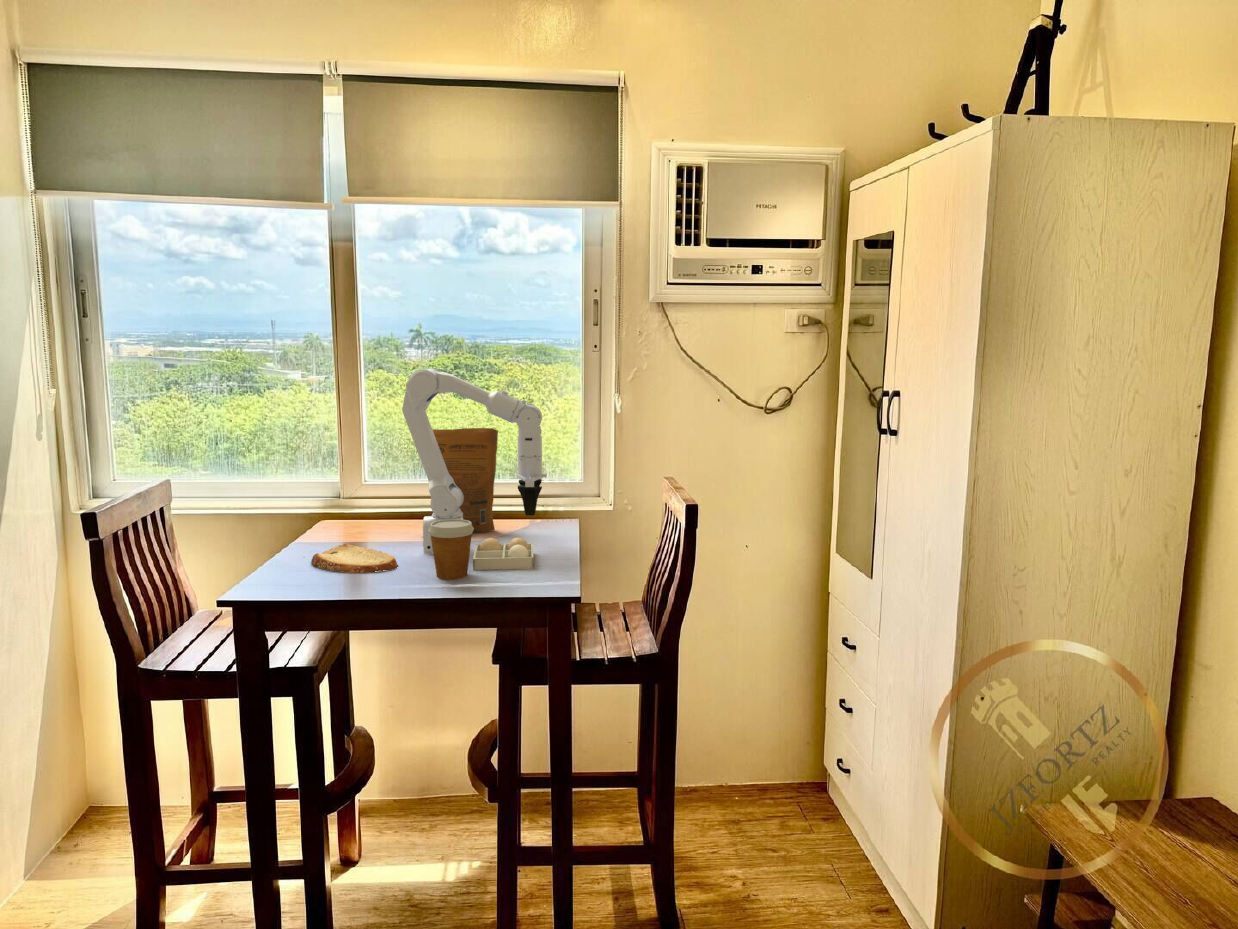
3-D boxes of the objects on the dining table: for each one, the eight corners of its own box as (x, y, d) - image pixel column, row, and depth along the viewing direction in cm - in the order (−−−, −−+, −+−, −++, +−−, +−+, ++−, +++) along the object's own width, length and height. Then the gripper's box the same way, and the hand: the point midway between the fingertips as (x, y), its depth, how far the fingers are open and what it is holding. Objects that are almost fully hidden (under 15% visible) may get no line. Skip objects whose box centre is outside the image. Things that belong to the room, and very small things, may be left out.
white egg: (507, 569, 178) (507, 550, 177) (508, 559, 183) (508, 541, 181) (528, 568, 179) (528, 550, 177) (528, 558, 183) (528, 540, 181)
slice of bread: (400, 571, 178) (400, 555, 177) (314, 579, 171) (313, 562, 170) (390, 552, 194) (389, 537, 194) (310, 559, 187) (310, 543, 187)
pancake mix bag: (498, 534, 212) (496, 428, 208) (425, 534, 212) (422, 428, 208) (500, 528, 219) (499, 426, 215) (430, 528, 218) (427, 426, 214)
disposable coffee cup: (477, 582, 168) (476, 526, 167) (430, 586, 166) (429, 529, 164) (472, 570, 177) (471, 517, 176) (427, 573, 175) (426, 519, 173)
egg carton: (473, 572, 176) (472, 558, 176) (476, 556, 189) (476, 544, 189) (533, 570, 178) (533, 557, 177) (532, 555, 191) (532, 543, 190)
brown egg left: (479, 560, 184) (479, 540, 183) (481, 555, 188) (480, 536, 188) (500, 560, 184) (500, 540, 184) (500, 554, 189) (500, 535, 188)
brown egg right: (508, 559, 184) (507, 540, 184) (508, 554, 189) (508, 535, 188) (528, 559, 185) (528, 540, 184) (528, 554, 189) (528, 535, 189)
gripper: (547, 459, 184) (547, 518, 186) (546, 451, 198) (546, 505, 200) (516, 460, 183) (516, 518, 185) (517, 451, 197) (518, 506, 199)
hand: (530, 511), depth 192 cm, fingers open, 7 cm apart
